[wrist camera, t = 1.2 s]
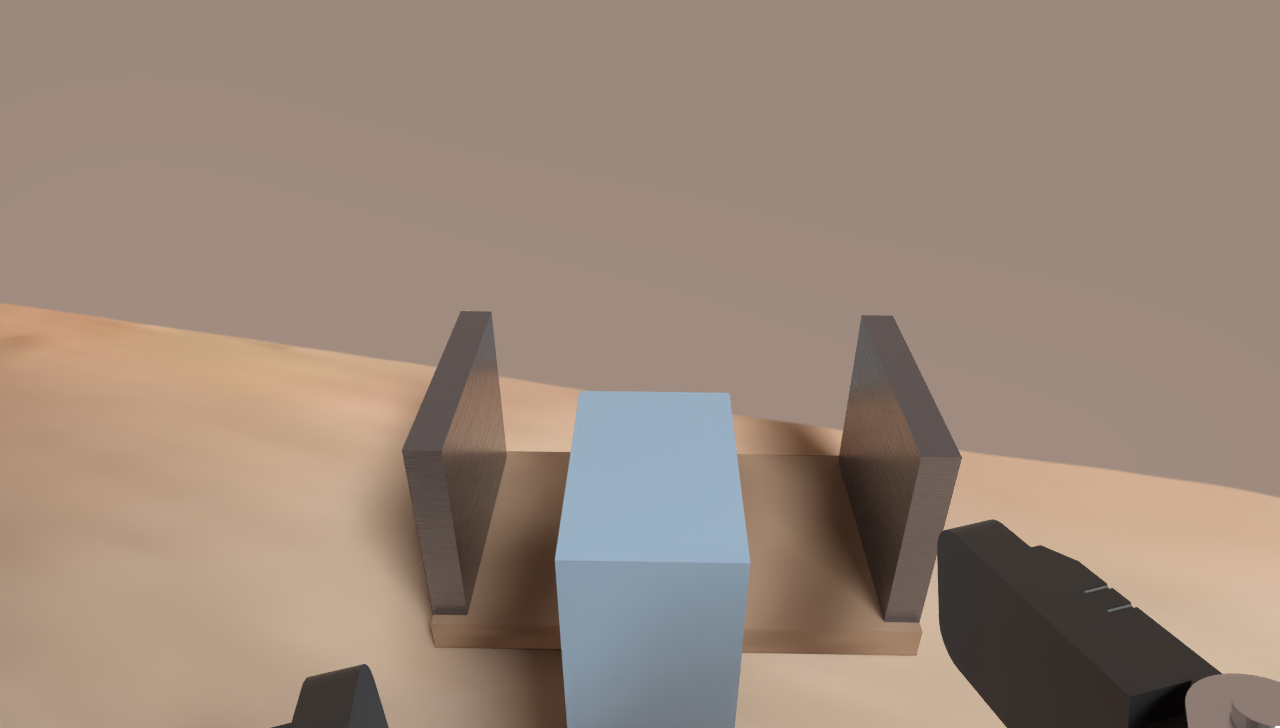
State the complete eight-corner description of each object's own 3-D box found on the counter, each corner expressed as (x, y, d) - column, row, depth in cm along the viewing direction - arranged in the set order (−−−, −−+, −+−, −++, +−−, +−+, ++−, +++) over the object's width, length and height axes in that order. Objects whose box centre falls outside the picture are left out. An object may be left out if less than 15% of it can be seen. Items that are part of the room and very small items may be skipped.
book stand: (435, 646, 37) (430, 623, 36) (483, 472, 47) (481, 451, 46) (916, 655, 36) (922, 631, 36) (860, 477, 47) (864, 456, 46)
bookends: (433, 614, 36) (402, 450, 32) (479, 456, 46) (461, 311, 41) (919, 622, 36) (961, 457, 31) (866, 461, 45) (892, 315, 41)
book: (580, 909, 28) (555, 560, 19) (594, 721, 34) (579, 391, 25) (716, 913, 28) (750, 563, 19) (706, 723, 34) (729, 392, 25)
